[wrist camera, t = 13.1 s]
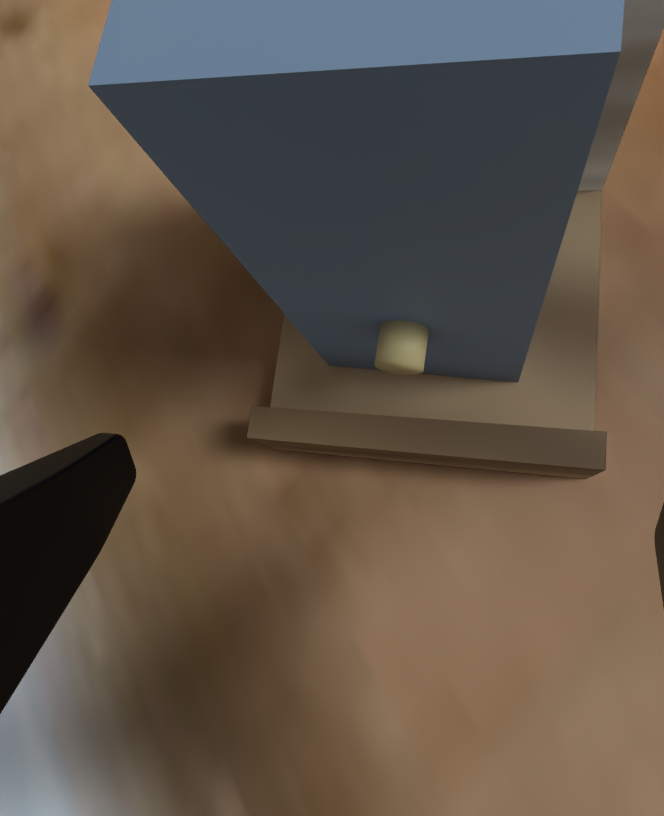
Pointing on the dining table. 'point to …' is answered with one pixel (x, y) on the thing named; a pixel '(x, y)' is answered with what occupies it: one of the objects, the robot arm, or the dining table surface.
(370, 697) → the dining table surface
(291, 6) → the blue-grey rectangular block
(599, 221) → the wooden stand
